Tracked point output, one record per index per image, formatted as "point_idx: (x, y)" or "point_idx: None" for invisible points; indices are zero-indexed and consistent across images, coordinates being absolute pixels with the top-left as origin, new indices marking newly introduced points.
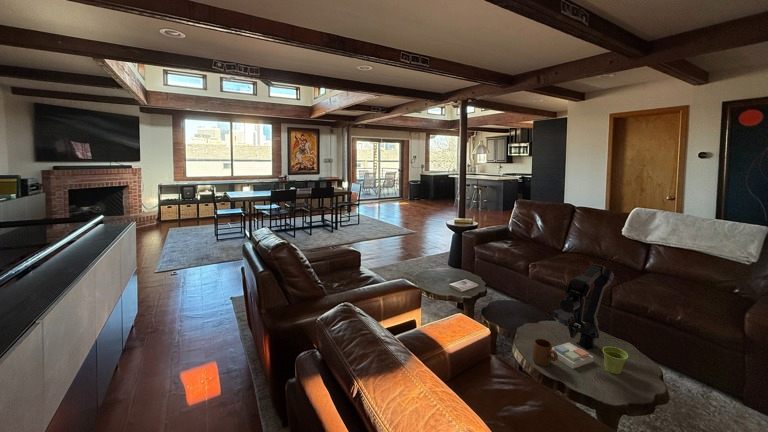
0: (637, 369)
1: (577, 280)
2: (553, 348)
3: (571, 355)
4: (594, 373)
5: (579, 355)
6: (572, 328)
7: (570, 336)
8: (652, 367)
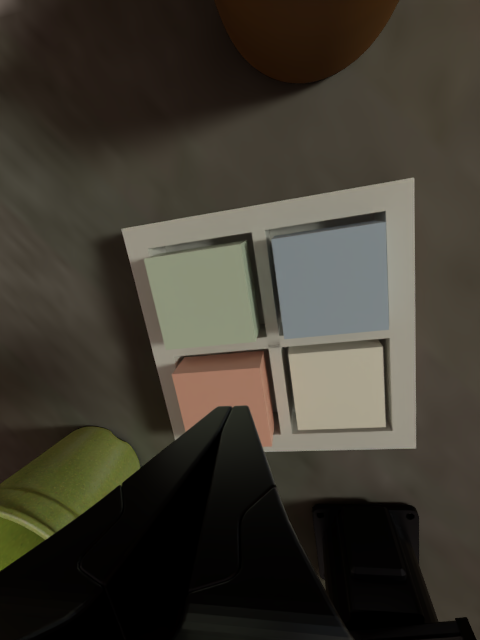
0: None
1: None
2: (394, 225)
3: (190, 280)
4: (84, 338)
5: (201, 365)
6: (64, 611)
7: (249, 413)
8: None
